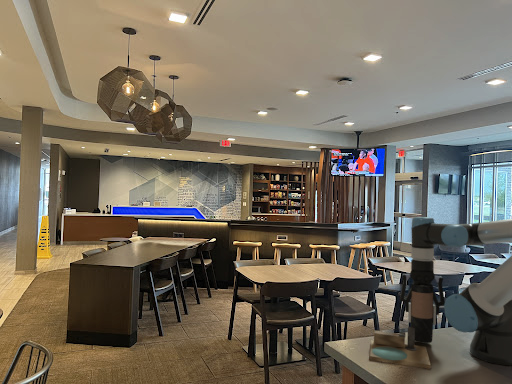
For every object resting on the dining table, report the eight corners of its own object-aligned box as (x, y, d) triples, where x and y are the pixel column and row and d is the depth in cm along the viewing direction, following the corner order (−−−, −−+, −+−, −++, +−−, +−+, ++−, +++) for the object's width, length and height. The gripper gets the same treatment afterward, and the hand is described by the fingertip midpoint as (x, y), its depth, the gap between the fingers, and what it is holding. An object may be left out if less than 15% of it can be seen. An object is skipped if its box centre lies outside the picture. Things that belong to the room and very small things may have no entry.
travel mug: (435, 344, 139) (435, 287, 140) (412, 342, 141) (412, 285, 141) (430, 337, 147) (430, 282, 147) (408, 335, 148) (409, 281, 149)
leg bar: (405, 344, 137) (405, 332, 137) (405, 347, 134) (405, 335, 134) (374, 340, 141) (374, 328, 141) (373, 343, 138) (374, 331, 138)
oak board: (425, 350, 137) (425, 326, 137) (430, 368, 122) (431, 341, 122) (371, 343, 143) (371, 320, 143) (369, 359, 127) (370, 334, 128)
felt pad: (406, 350, 134) (406, 349, 134) (408, 362, 123) (408, 361, 123) (372, 345, 137) (372, 344, 137) (371, 357, 127) (371, 356, 127)
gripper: (451, 259, 145) (451, 322, 144) (392, 256, 151) (391, 316, 151) (455, 262, 138) (454, 328, 137) (392, 258, 144) (392, 322, 143)
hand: (421, 322), depth 144 cm, fingers closed on travel mug, 8 cm apart
